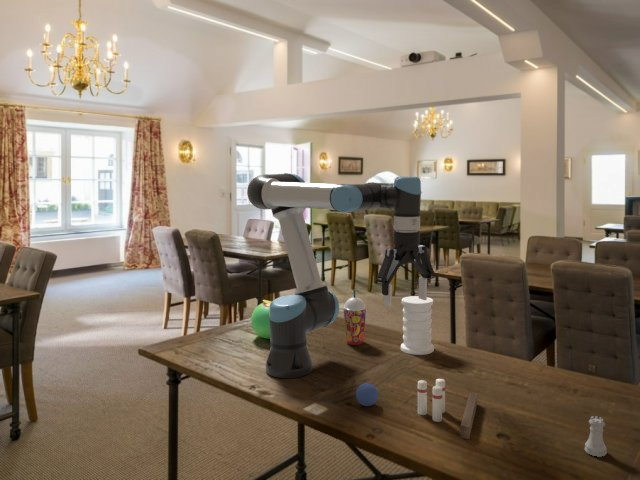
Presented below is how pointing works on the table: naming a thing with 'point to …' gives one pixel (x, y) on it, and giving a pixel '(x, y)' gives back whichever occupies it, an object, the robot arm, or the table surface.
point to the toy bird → (261, 319)
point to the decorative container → (417, 326)
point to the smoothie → (354, 320)
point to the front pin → (422, 397)
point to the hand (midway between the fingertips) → (405, 302)
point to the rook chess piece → (596, 438)
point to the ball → (366, 394)
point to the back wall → (468, 416)
